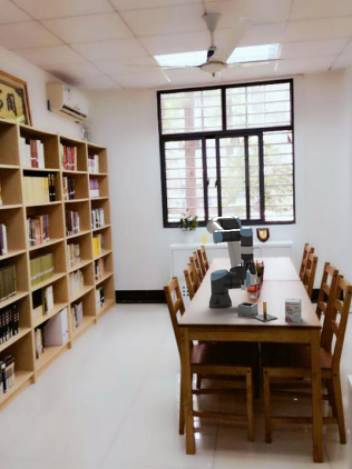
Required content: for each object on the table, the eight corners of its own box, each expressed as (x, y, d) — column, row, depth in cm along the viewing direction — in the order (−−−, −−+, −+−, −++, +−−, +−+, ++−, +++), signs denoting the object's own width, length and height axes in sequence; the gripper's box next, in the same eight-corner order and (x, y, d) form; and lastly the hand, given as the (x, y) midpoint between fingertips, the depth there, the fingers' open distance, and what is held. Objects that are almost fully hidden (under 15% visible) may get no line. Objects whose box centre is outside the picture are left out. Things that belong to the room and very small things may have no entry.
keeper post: (253, 317, 259) (252, 301, 258) (266, 314, 264) (266, 298, 263) (263, 321, 250) (262, 305, 249) (277, 318, 255) (276, 302, 254)
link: (238, 315, 266) (237, 305, 266) (244, 311, 274) (244, 301, 273) (251, 316, 261) (251, 307, 261) (257, 312, 269) (257, 303, 268)
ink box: (284, 321, 249) (284, 301, 248) (286, 317, 257) (286, 297, 256) (300, 322, 246) (300, 301, 245) (301, 317, 254) (301, 298, 253)
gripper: (244, 256, 251) (245, 292, 253) (260, 249, 271) (261, 283, 274) (232, 256, 255) (233, 291, 257) (249, 249, 276) (250, 282, 278)
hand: (248, 287), depth 266 cm, fingers open, 13 cm apart
